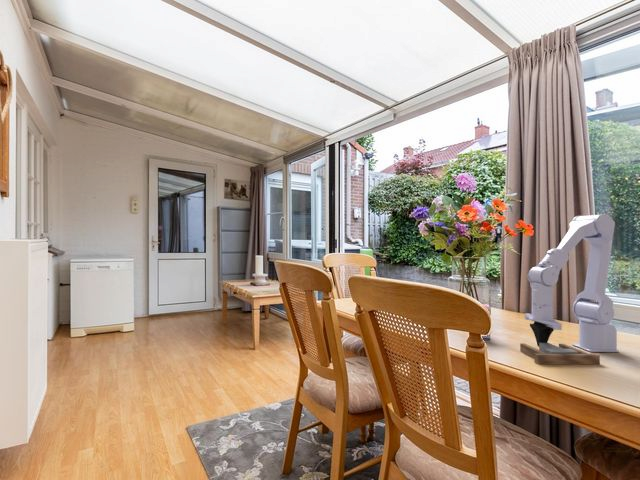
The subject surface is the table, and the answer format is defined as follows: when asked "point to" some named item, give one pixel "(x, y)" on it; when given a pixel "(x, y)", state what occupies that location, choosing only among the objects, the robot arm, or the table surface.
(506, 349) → the table surface
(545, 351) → the t block
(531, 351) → the walnut bay
